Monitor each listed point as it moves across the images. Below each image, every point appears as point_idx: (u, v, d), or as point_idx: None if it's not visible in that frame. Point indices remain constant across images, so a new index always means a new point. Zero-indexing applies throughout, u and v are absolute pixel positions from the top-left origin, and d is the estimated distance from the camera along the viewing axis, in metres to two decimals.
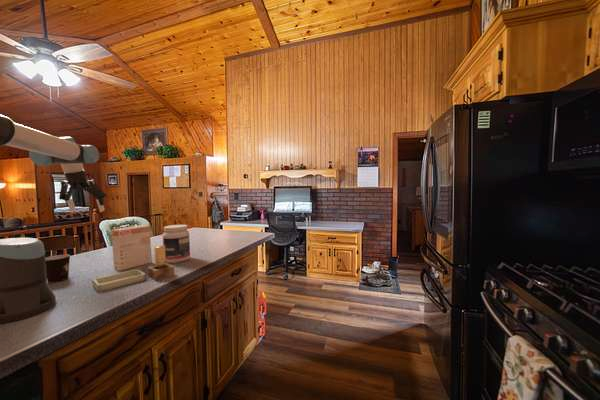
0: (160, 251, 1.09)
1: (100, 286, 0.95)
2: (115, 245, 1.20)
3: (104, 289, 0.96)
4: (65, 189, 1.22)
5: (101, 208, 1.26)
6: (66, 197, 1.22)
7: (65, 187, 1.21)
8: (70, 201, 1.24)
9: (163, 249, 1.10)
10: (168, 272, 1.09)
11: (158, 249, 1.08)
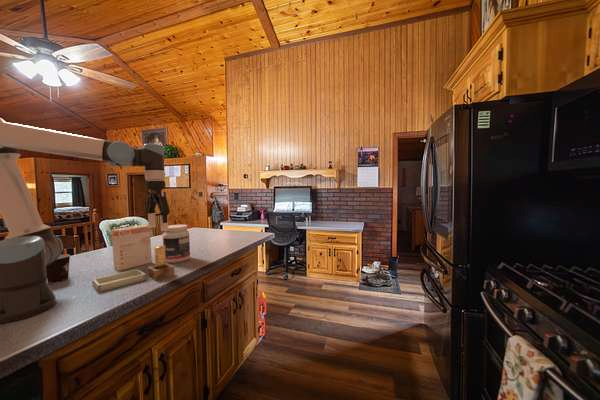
0: (160, 251, 1.09)
1: (100, 286, 0.95)
2: (115, 245, 1.20)
3: (104, 289, 0.96)
4: None
5: (163, 226, 1.05)
6: (148, 209, 1.13)
7: None
8: (151, 215, 1.14)
9: (163, 249, 1.10)
10: (168, 272, 1.09)
11: (158, 249, 1.08)
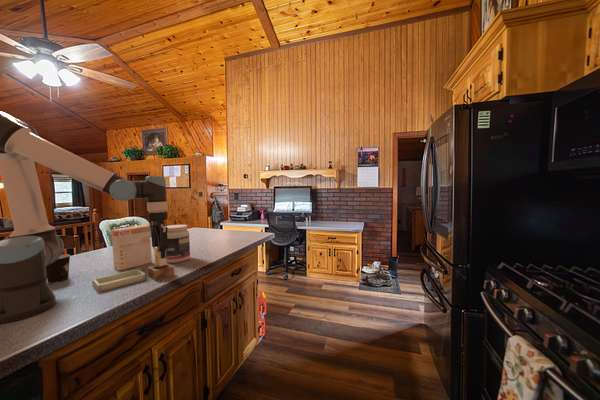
0: None
1: (100, 286, 0.95)
2: (115, 245, 1.20)
3: (104, 289, 0.96)
4: None
5: (161, 262, 1.08)
6: (154, 244, 1.11)
7: None
8: None
9: None
10: (168, 272, 1.09)
11: (158, 249, 1.08)
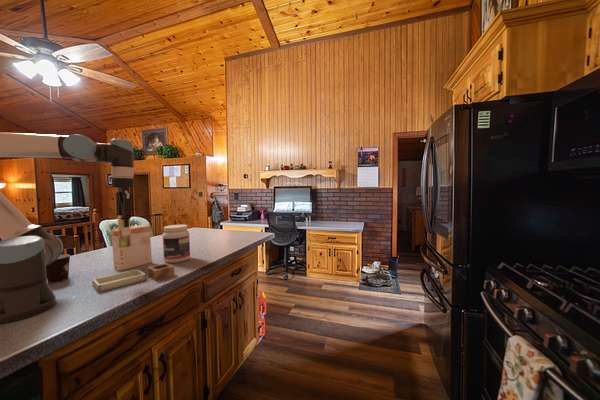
0: None
1: (100, 286, 0.95)
2: (115, 245, 1.20)
3: (104, 289, 0.96)
4: None
5: (124, 231, 1.02)
6: (118, 213, 1.05)
7: None
8: None
9: None
10: (168, 272, 1.09)
11: (121, 217, 1.02)
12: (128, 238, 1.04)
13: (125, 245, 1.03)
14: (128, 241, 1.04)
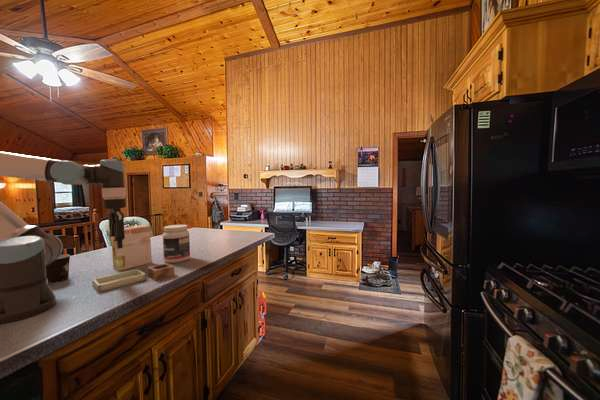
0: None
1: (100, 286, 0.95)
2: None
3: (104, 289, 0.96)
4: None
5: (118, 252, 1.01)
6: (111, 234, 1.04)
7: None
8: None
9: None
10: (168, 272, 1.09)
11: None
12: (122, 259, 1.03)
13: (120, 266, 1.02)
14: (123, 262, 1.03)
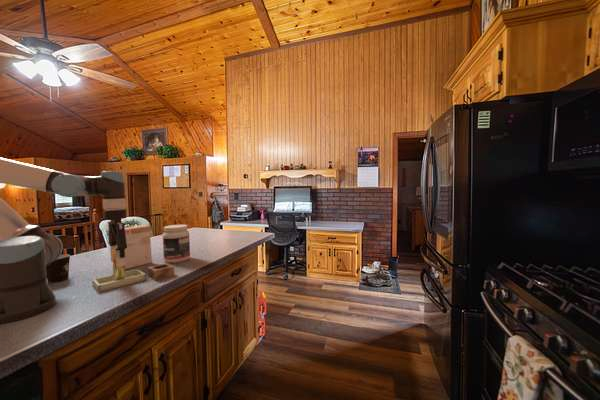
0: None
1: (100, 286, 0.95)
2: None
3: (104, 289, 0.96)
4: None
5: (120, 262, 0.99)
6: (110, 241, 1.06)
7: None
8: (114, 248, 1.06)
9: None
10: (168, 272, 1.09)
11: (116, 252, 1.01)
12: (123, 272, 1.03)
13: None
14: (123, 275, 1.03)
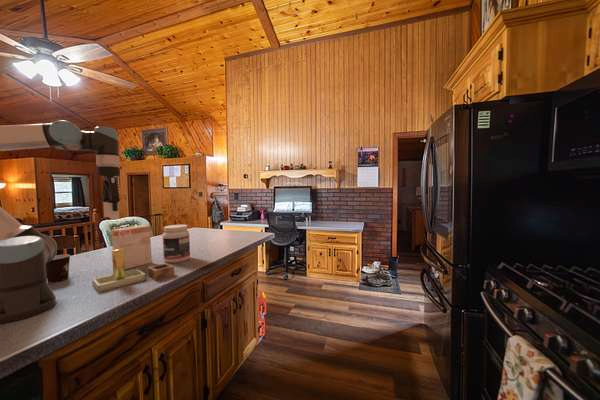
0: (118, 254, 1.02)
1: (100, 286, 0.95)
2: (115, 245, 1.20)
3: (104, 289, 0.96)
4: None
5: (113, 215, 0.98)
6: (103, 198, 1.07)
7: None
8: (107, 203, 1.07)
9: (121, 253, 1.03)
10: (168, 272, 1.09)
11: (115, 253, 1.01)
12: (123, 272, 1.03)
13: None
14: (123, 275, 1.03)
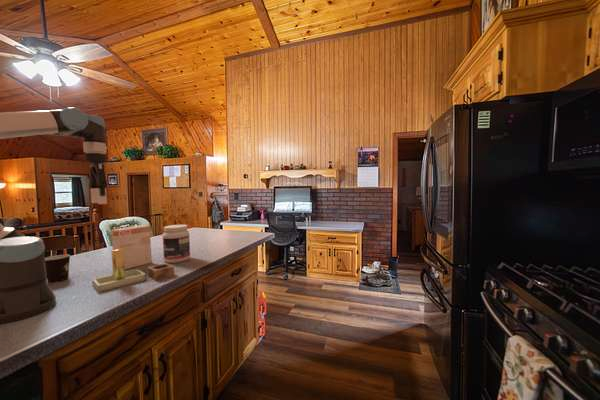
0: (118, 254, 1.02)
1: (100, 286, 0.95)
2: (115, 245, 1.20)
3: (104, 289, 0.96)
4: None
5: (100, 200, 1.02)
6: (90, 184, 1.10)
7: (93, 173, 1.11)
8: (94, 190, 1.11)
9: (121, 253, 1.03)
10: (168, 272, 1.09)
11: (115, 253, 1.01)
12: (123, 272, 1.03)
13: None
14: (123, 275, 1.03)
